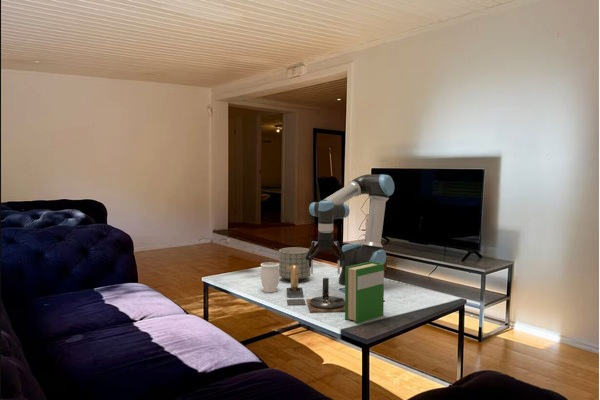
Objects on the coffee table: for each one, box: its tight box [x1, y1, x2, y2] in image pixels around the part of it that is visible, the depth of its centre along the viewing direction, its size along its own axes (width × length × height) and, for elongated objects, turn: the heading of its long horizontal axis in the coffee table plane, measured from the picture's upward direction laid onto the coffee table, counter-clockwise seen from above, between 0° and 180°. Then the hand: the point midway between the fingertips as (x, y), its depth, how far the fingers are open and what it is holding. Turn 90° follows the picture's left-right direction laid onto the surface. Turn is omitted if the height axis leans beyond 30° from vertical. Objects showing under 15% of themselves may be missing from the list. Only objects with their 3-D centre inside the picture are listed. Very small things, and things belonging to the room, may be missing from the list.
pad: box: [286, 298, 307, 306], centre depth 225 cm, size 9×9×1 cm
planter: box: [278, 247, 311, 282], centre depth 270 cm, size 19×19×18 cm
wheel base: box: [306, 297, 345, 314], centre depth 219 cm, size 19×19×1 cm
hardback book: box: [344, 261, 385, 325], centre depth 202 cm, size 18×7×24 cm, turn 130°
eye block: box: [285, 286, 304, 299], centre depth 238 cm, size 8×8×3 cm
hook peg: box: [287, 265, 299, 291], centre depth 237 cm, size 6×4×16 cm, turn 94°
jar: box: [260, 261, 280, 293], centre depth 246 cm, size 11×10×15 cm
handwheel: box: [310, 277, 345, 309], centre depth 219 cm, size 17×17×11 cm
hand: (325, 273), depth 225 cm, fingers open, 13 cm apart
